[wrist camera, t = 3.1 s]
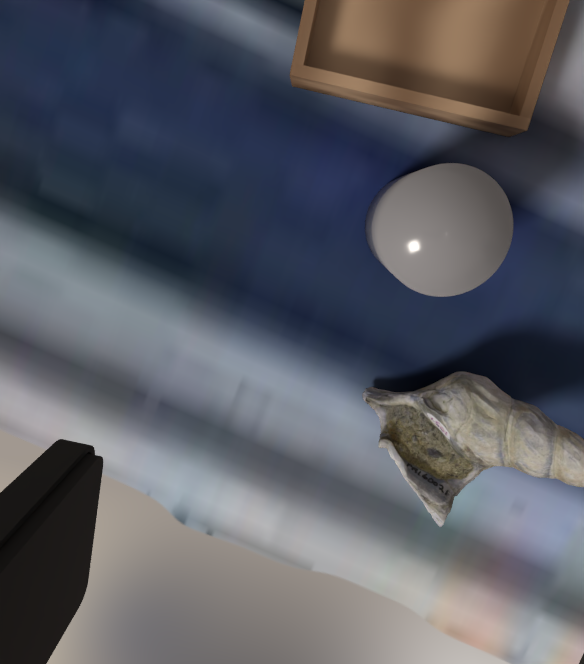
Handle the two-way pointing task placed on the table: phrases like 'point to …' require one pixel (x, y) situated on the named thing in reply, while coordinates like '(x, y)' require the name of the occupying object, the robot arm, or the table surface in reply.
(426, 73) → the walnut tray
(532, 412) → the seashell
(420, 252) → the grey rounded cylinder
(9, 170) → the table surface
